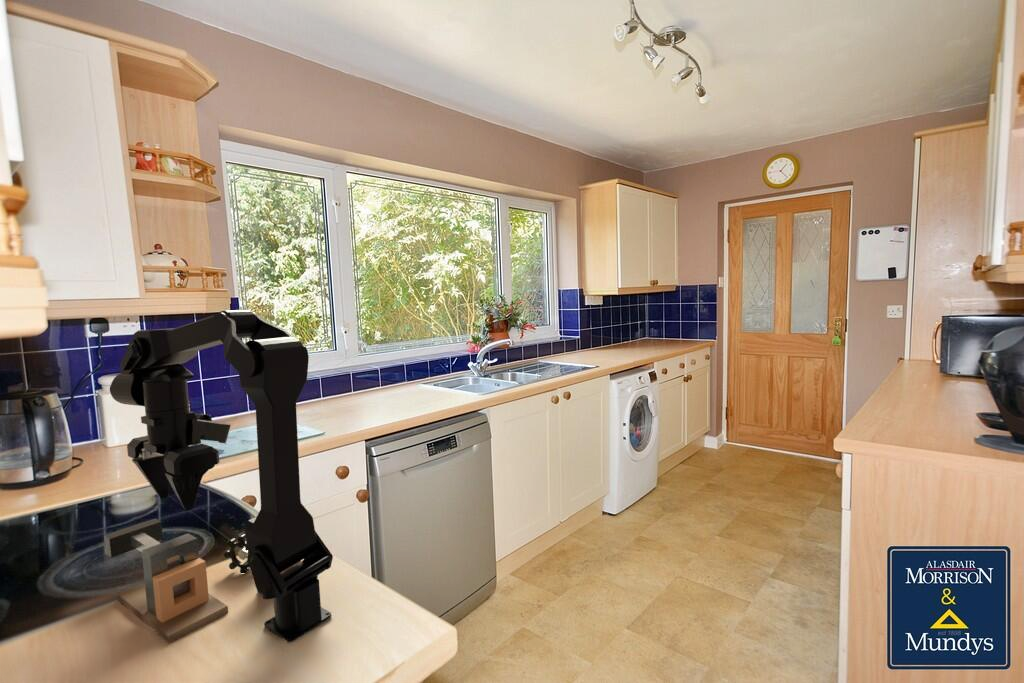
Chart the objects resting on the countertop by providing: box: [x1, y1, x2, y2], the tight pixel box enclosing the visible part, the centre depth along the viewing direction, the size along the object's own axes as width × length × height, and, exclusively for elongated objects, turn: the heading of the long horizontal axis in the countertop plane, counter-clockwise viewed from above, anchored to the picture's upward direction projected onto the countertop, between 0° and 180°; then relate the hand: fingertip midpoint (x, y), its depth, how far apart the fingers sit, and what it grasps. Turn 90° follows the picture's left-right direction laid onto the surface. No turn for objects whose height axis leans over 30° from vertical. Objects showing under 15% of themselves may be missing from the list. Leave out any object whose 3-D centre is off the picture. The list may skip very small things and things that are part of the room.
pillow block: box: [141, 533, 200, 617], centre depth 72 cm, size 3×6×9 cm, turn 145°
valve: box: [223, 533, 251, 574], centre depth 87 cm, size 7×7×12 cm
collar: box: [153, 557, 209, 623], centre depth 71 cm, size 2×6×6 cm, turn 146°
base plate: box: [117, 582, 229, 644], centre depth 73 cm, size 18×8×1 cm, turn 56°
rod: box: [103, 518, 180, 569], centre depth 76 cm, size 16×7×3 cm, turn 56°
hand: (176, 503), depth 79 cm, fingers open, 9 cm apart
